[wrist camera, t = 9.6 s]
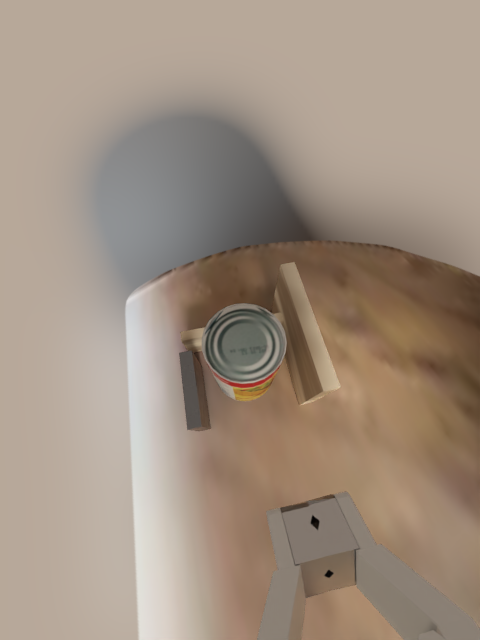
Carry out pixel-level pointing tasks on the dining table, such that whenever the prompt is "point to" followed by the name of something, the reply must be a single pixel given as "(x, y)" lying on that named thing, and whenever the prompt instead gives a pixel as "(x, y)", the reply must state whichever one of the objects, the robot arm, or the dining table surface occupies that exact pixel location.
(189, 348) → the shelf wall
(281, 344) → the canned food
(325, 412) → the dining table surface
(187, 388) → the bookend
